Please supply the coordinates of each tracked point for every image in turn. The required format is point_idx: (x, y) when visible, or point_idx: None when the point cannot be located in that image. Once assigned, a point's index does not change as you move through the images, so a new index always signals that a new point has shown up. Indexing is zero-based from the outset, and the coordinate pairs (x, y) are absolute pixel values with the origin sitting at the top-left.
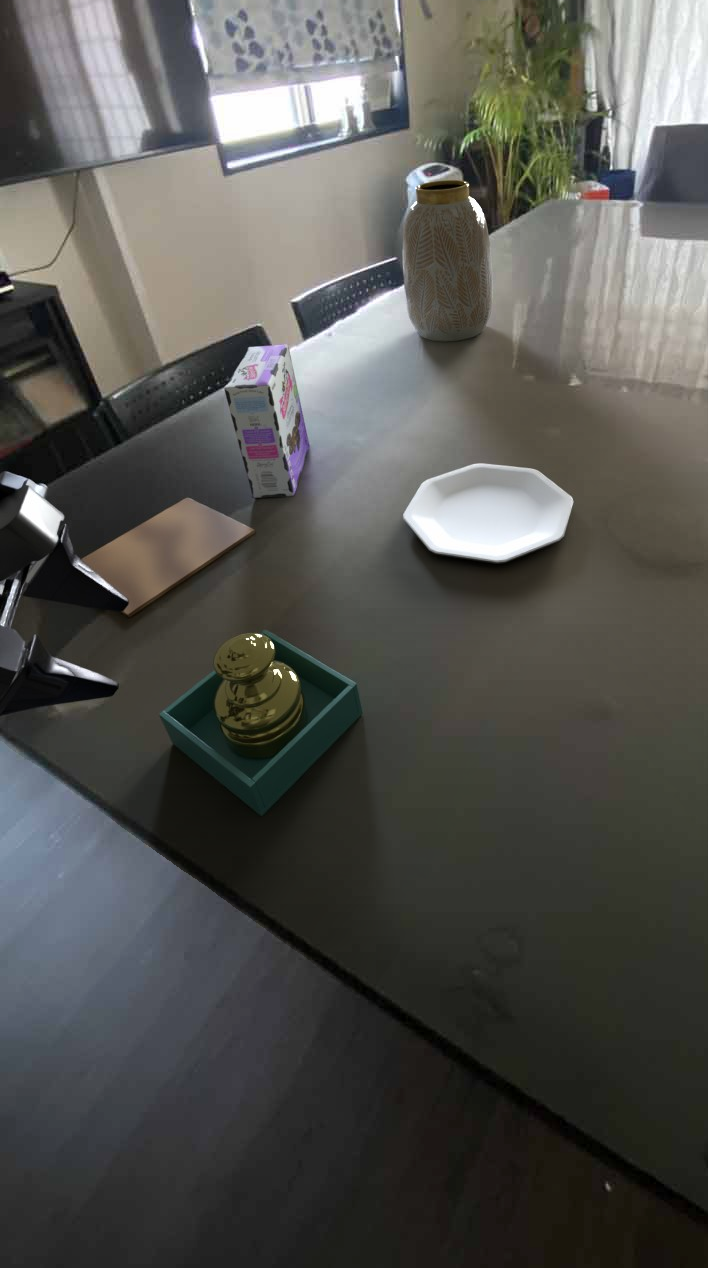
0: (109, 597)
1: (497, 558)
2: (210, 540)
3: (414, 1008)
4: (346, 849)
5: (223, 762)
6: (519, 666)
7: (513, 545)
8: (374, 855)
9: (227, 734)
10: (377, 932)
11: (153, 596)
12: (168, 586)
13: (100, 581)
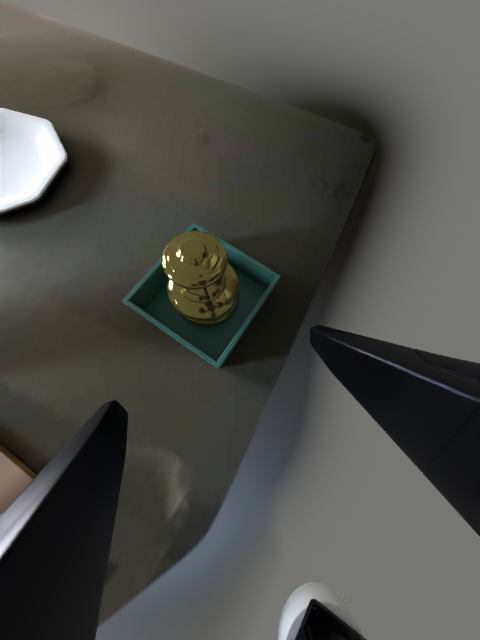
0: (102, 440)
1: (62, 157)
2: None
3: (346, 213)
4: (286, 244)
5: (263, 298)
6: (169, 165)
7: (47, 151)
8: (288, 231)
9: (230, 311)
10: (322, 228)
11: (20, 470)
12: (6, 457)
13: (42, 486)
